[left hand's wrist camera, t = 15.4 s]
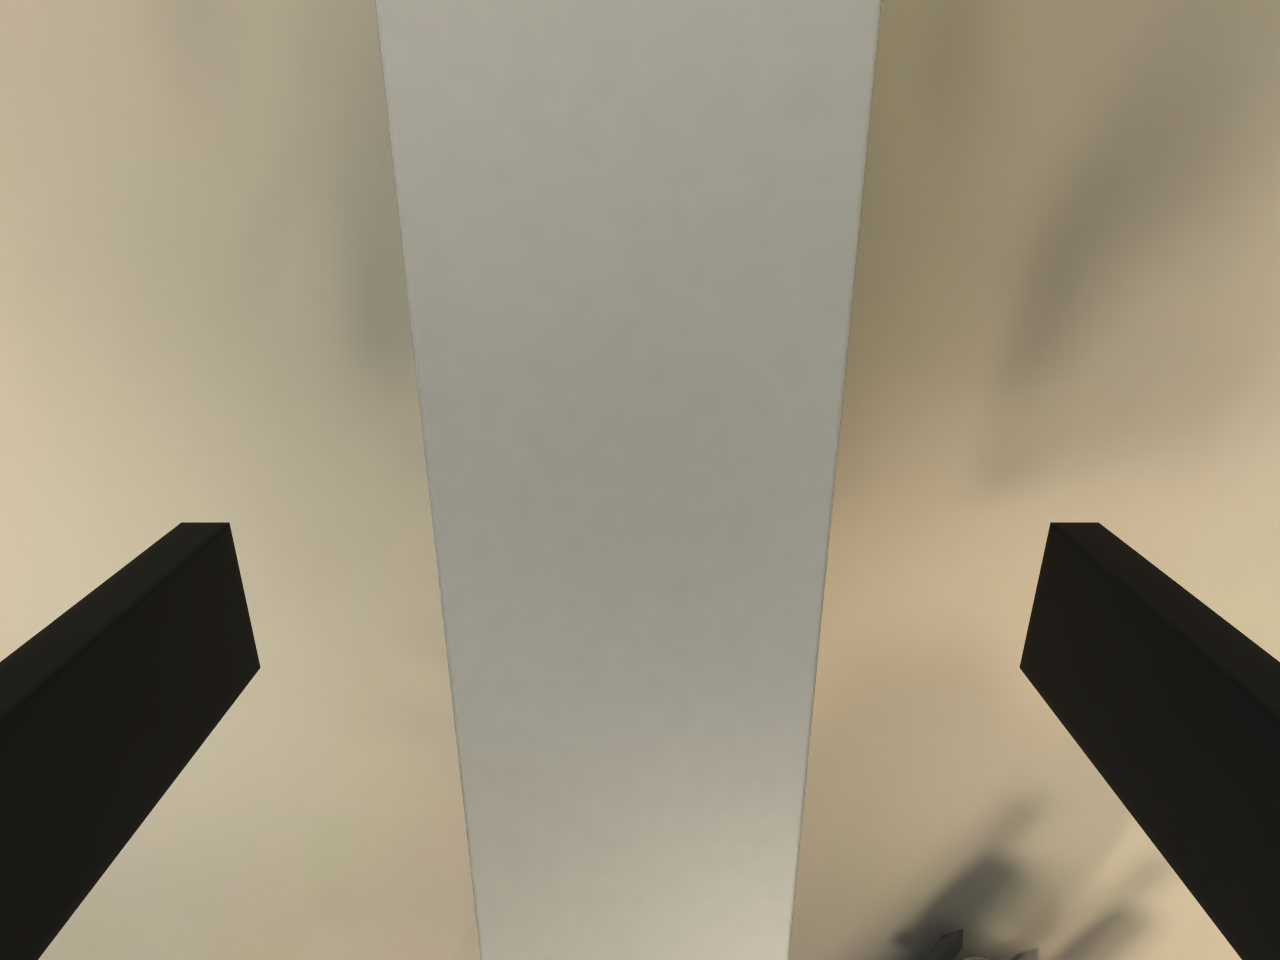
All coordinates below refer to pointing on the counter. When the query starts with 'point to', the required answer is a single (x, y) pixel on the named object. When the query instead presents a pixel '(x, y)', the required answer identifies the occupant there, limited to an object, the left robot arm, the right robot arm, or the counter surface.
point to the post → (631, 440)
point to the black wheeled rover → (950, 948)
